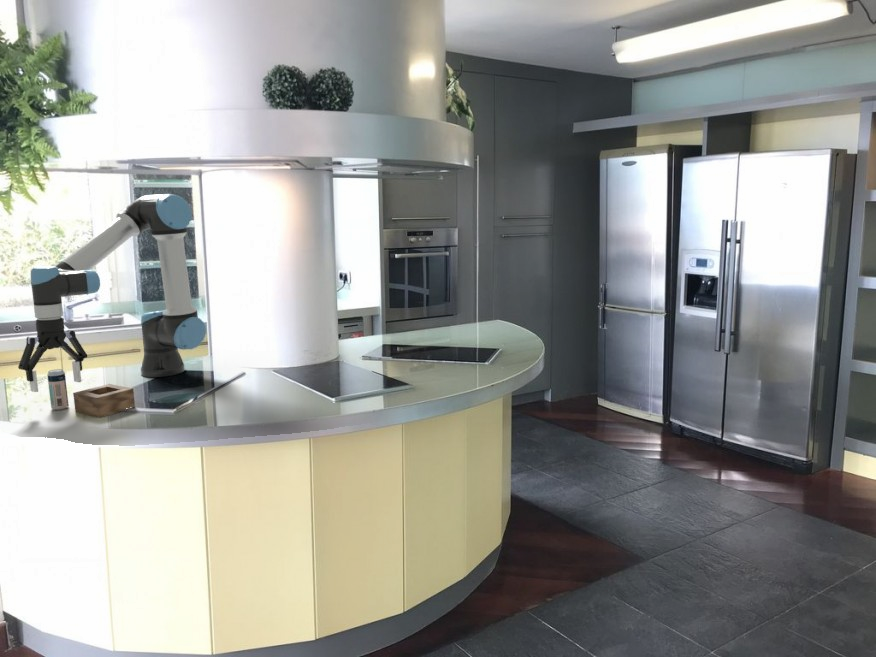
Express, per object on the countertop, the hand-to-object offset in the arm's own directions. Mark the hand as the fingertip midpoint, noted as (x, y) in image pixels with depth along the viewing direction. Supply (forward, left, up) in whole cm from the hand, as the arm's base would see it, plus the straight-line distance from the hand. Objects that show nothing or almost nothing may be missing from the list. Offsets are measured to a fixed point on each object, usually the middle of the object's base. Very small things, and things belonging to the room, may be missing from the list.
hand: (56, 386), depth 220 cm
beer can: (0, 0, -7) cm, 7 cm away
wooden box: (-6, +14, -7) cm, 17 cm away
